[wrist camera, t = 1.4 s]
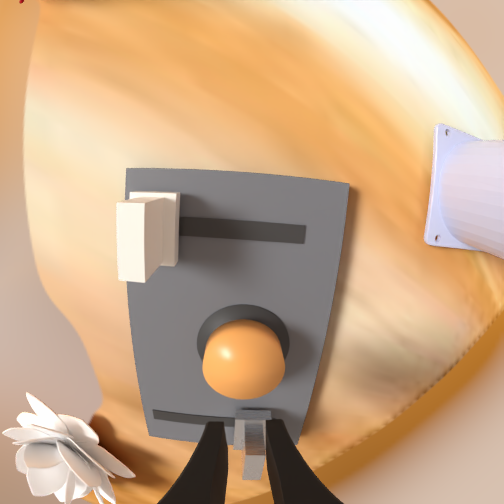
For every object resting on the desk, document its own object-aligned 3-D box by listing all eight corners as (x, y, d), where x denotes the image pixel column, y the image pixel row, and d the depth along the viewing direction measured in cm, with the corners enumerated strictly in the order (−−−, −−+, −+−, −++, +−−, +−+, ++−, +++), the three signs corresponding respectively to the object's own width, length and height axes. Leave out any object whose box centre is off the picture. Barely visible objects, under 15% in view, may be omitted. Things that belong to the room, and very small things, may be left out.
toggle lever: (180, 192, 14) (159, 198, 11) (178, 260, 15) (159, 288, 12) (136, 190, 14) (103, 197, 10) (136, 257, 15) (106, 283, 11)
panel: (342, 182, 16) (350, 183, 15) (295, 434, 21) (297, 445, 20) (133, 168, 16) (125, 168, 14) (152, 425, 21) (148, 436, 19)
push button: (285, 321, 16) (290, 337, 14) (276, 381, 17) (279, 400, 16) (205, 316, 16) (202, 332, 14) (205, 378, 17) (202, 396, 15)
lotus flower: (8, 363, 19) (-39, 415, 11) (146, 431, 21) (123, 510, 12) (27, 440, 22) (0, 485, 14) (133, 490, 24) (120, 545, 16)
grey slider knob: (270, 410, 18) (276, 453, 14) (264, 440, 19) (268, 480, 15) (235, 409, 18) (235, 453, 14) (233, 439, 19) (233, 480, 15)
